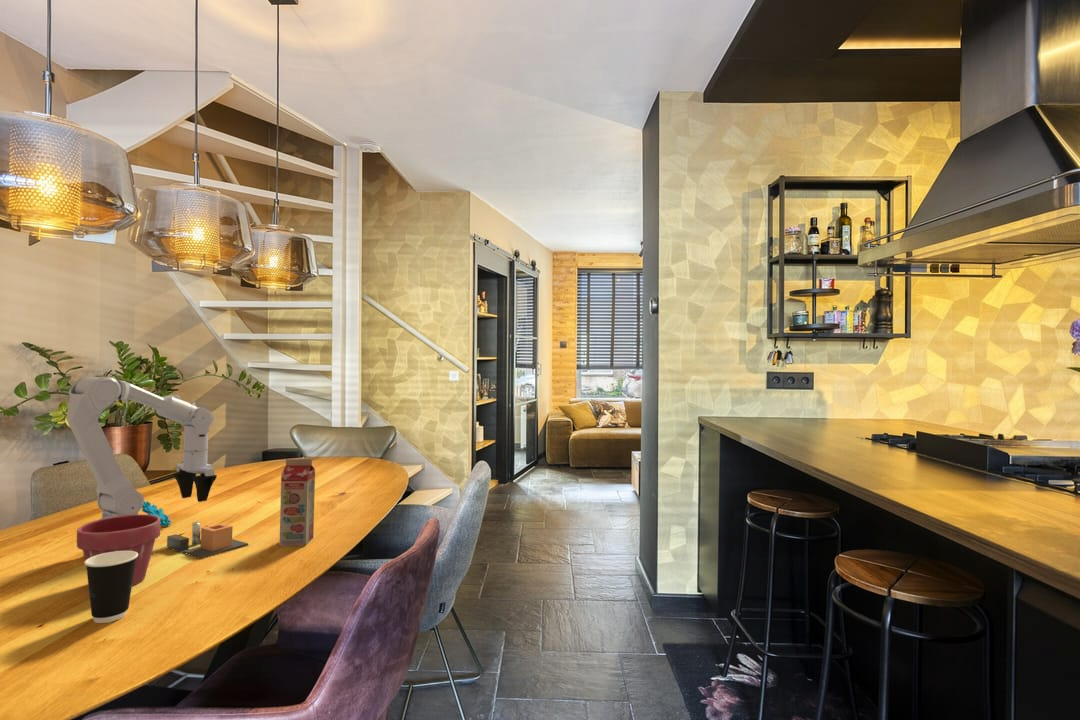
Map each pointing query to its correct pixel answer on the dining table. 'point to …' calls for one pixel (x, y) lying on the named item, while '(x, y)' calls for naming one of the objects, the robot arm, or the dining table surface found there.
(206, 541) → the collar
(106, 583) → the dixie cup
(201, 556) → the panel
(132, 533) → the plant pot
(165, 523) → the gear
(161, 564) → the dining table surface
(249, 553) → the dining table surface
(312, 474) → the juice carton
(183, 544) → the vise
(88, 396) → the robot arm
